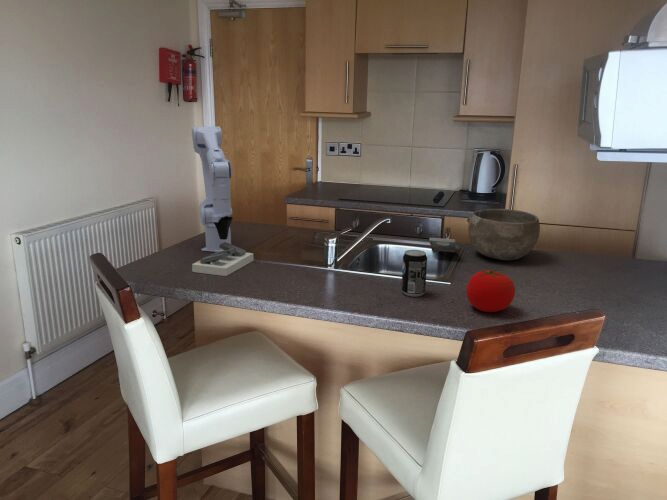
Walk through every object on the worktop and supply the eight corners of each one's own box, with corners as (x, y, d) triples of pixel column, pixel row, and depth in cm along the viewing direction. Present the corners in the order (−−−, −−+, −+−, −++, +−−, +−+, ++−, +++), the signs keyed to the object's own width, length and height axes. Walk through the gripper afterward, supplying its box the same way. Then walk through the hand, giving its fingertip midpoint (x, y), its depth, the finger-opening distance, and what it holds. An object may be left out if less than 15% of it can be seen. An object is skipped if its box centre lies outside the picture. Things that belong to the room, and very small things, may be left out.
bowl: (468, 265, 182) (472, 220, 178) (461, 246, 205) (463, 206, 201) (544, 268, 179) (549, 223, 175) (527, 248, 202) (532, 208, 198)
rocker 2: (216, 255, 181) (215, 252, 181) (236, 251, 178) (235, 247, 177) (210, 258, 177) (209, 255, 177) (230, 254, 174) (229, 250, 174)
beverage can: (407, 287, 159) (408, 248, 156) (428, 292, 156) (431, 251, 153) (397, 294, 154) (399, 253, 151) (419, 299, 151) (422, 257, 147)
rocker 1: (207, 260, 176) (205, 256, 176) (227, 255, 173) (226, 252, 172) (200, 263, 172) (199, 259, 172) (221, 258, 169) (220, 255, 169)
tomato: (466, 299, 151) (469, 262, 148) (512, 304, 147) (516, 267, 144) (463, 314, 140) (466, 275, 137) (513, 320, 137) (517, 280, 134)
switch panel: (222, 256, 189) (221, 247, 188) (253, 260, 185) (253, 251, 184) (192, 271, 172) (191, 261, 171) (226, 276, 168) (225, 265, 168)
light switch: (456, 247, 197) (455, 236, 183) (455, 263, 196) (453, 253, 182) (432, 245, 199) (429, 234, 186) (430, 261, 198) (428, 251, 184)
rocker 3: (224, 245, 185) (225, 241, 185) (245, 253, 183) (245, 250, 183) (219, 247, 182) (219, 244, 181) (239, 256, 180) (240, 253, 180)
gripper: (217, 194, 186) (219, 233, 190) (201, 202, 172) (204, 243, 176) (237, 195, 185) (239, 234, 189) (223, 202, 172) (225, 244, 175)
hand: (223, 239), depth 182 cm, fingers closed
